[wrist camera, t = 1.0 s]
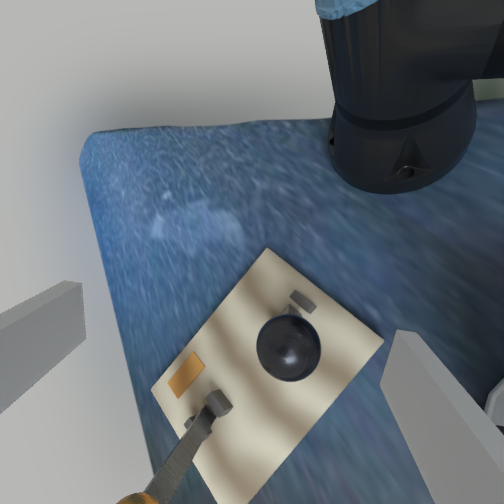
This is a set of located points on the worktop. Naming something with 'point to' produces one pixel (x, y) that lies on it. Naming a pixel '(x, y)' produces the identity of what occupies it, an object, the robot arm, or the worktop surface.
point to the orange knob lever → (175, 462)
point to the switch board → (259, 378)
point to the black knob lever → (288, 346)
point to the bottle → (496, 404)
